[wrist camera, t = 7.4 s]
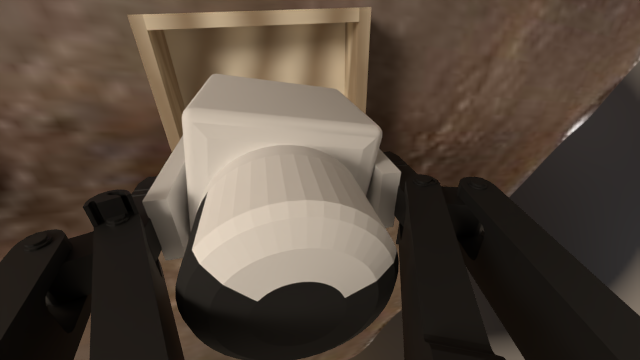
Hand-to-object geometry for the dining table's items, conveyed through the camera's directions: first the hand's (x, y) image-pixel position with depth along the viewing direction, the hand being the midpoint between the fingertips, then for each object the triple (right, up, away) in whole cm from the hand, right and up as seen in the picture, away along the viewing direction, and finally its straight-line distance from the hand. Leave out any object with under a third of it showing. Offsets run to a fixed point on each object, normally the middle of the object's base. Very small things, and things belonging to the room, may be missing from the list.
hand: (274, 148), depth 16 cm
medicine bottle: (0, +1, +1) cm, 1 cm away
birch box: (-4, +10, +19) cm, 22 cm away
